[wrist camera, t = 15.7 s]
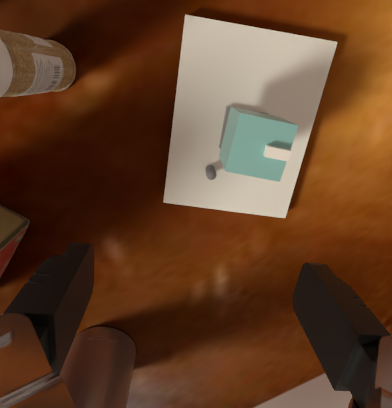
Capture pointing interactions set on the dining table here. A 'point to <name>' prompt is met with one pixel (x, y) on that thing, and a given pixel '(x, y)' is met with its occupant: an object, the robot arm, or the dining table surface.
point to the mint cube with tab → (256, 144)
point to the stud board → (245, 99)
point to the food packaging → (10, 234)
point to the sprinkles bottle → (33, 65)
